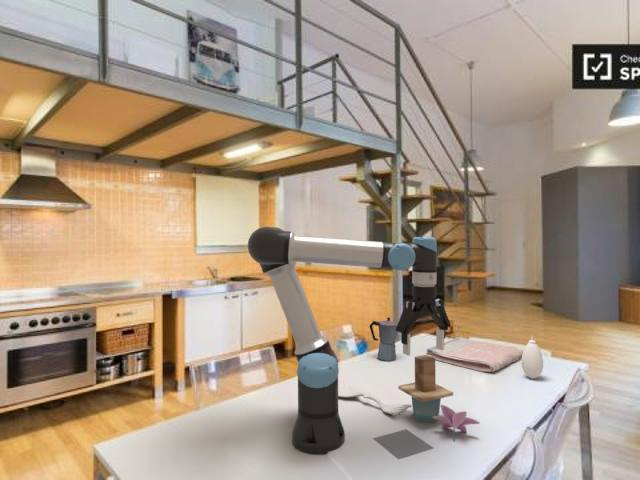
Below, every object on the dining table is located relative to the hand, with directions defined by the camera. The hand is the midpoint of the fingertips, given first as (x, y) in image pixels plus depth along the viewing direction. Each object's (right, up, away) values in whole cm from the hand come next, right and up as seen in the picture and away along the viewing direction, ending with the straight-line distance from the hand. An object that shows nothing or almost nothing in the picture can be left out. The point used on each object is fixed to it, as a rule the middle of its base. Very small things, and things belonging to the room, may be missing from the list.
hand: (423, 351), depth 125 cm
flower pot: (+1, -22, 0) cm, 22 cm away
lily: (+6, -22, -11) cm, 25 cm away
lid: (0, -13, 0) cm, 13 cm away
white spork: (-17, -22, +13) cm, 31 cm away
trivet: (-10, -22, -15) cm, 28 cm away
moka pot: (-1, -22, +64) cm, 67 cm away
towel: (+42, -22, +64) cm, 80 cm away
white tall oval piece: (+54, -21, +36) cm, 69 cm away
